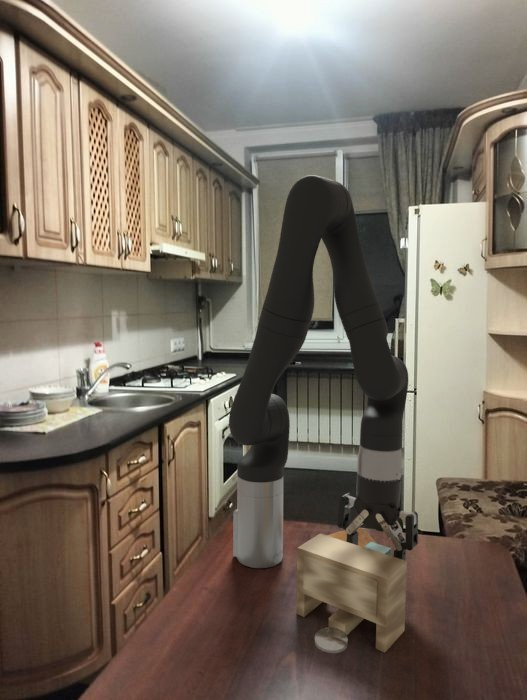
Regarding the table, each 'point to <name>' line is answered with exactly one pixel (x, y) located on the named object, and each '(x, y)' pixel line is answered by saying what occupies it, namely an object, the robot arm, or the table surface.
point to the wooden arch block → (353, 584)
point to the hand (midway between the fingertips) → (374, 560)
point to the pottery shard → (362, 537)
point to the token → (331, 640)
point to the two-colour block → (346, 619)
